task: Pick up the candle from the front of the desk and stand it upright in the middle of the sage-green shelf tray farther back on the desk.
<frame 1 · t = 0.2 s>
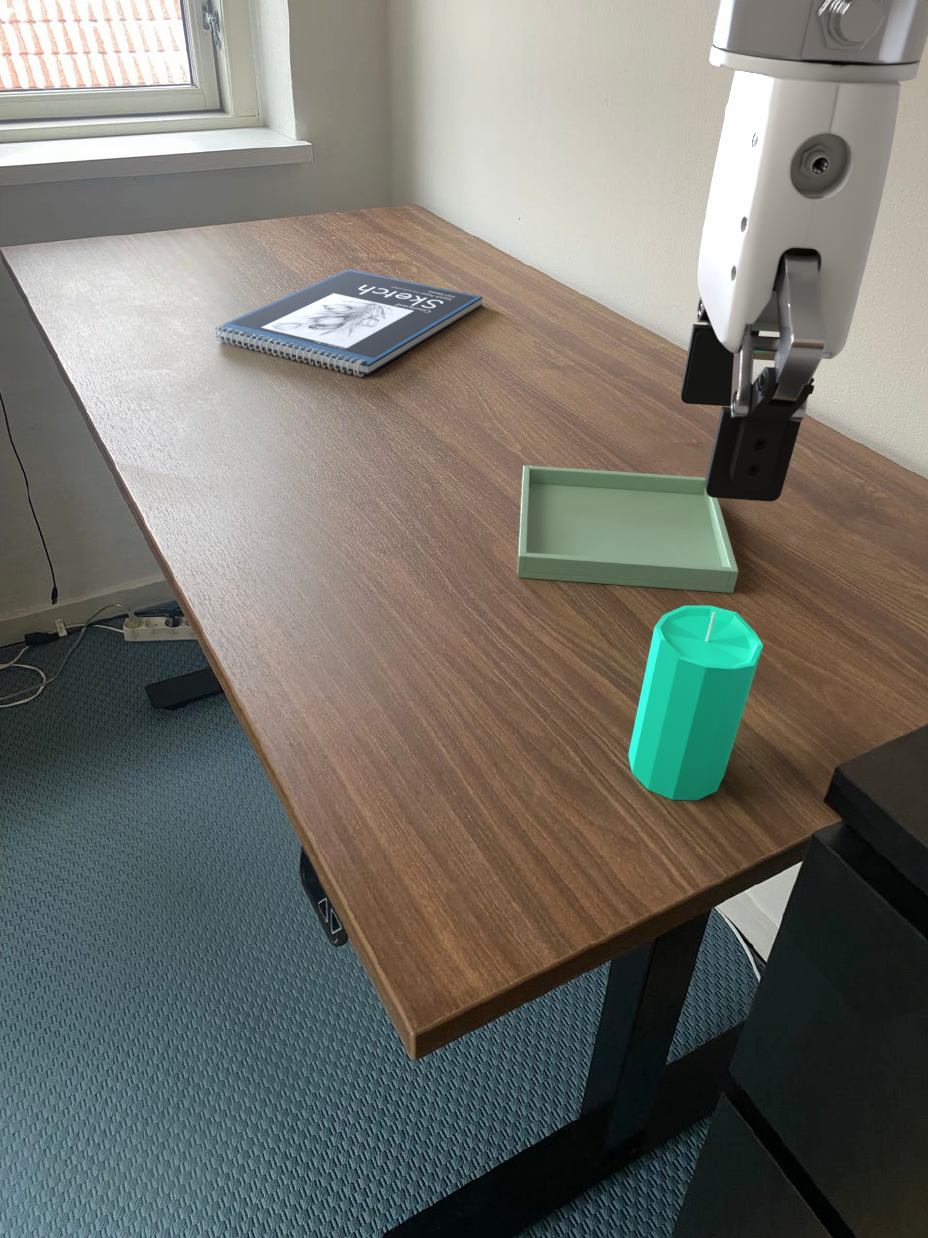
hand: (724, 445, 44), 22 cm above the table, tool pointing down, fingers open, 9 cm apart
shelf tray: (619, 534, 80), on the table
candle: (675, 767, 58), on the table
sketchbook: (354, 323, 118), on the table
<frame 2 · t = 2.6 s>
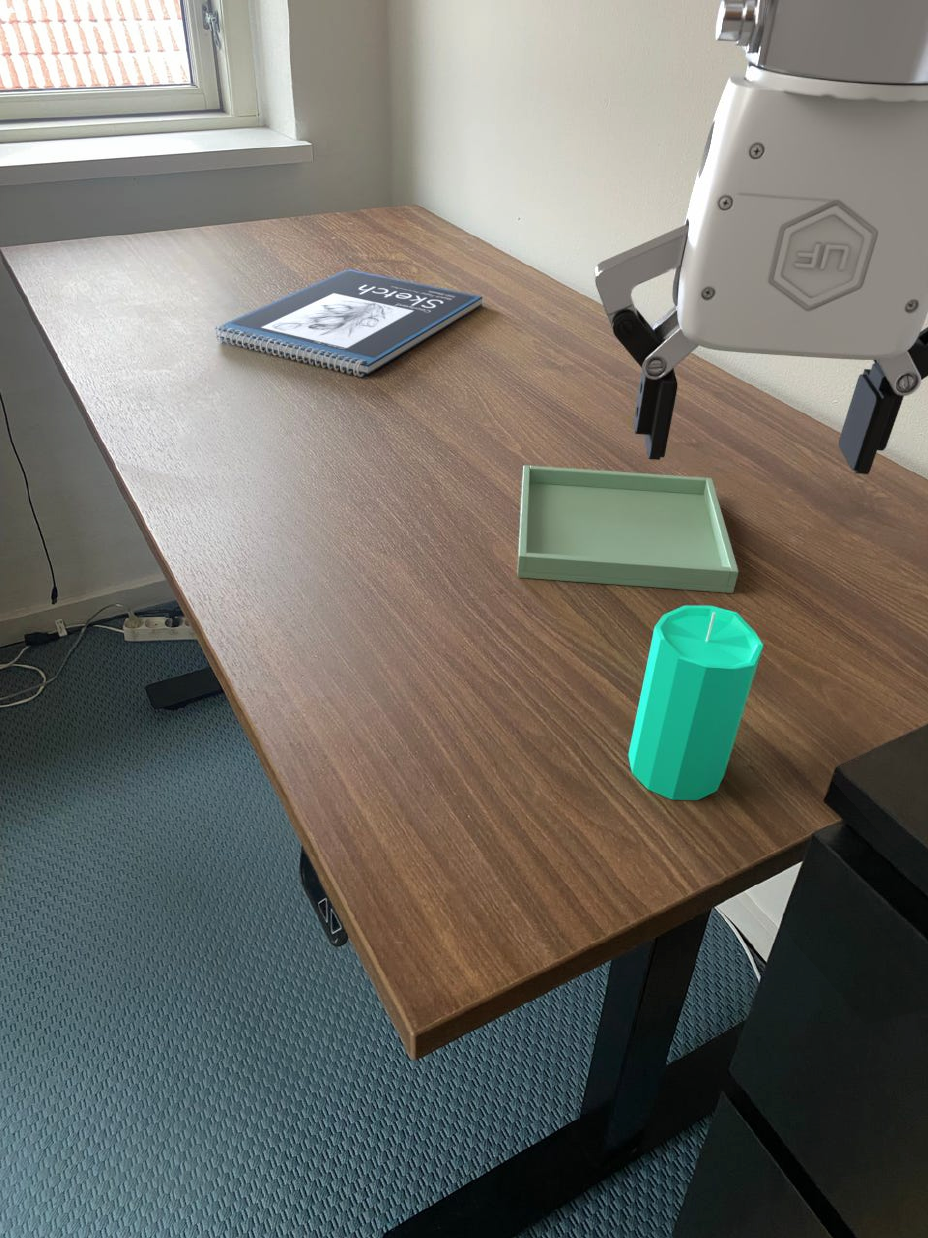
hand: (752, 453, 45), 22 cm above the table, tool pointing down, fingers open, 9 cm apart
nothing on the table moved.
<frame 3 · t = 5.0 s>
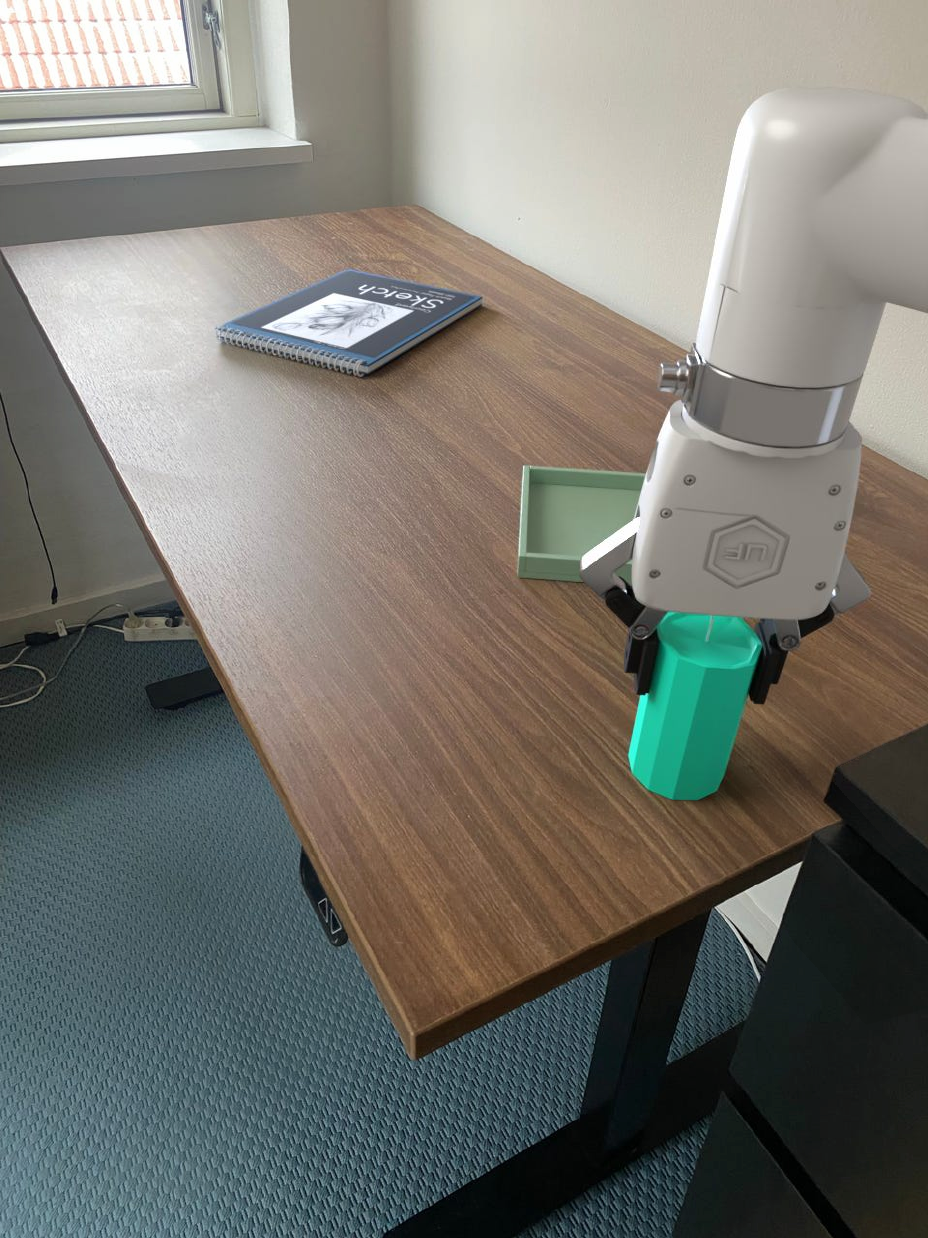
hand: (696, 681, 54), 7 cm above the table, tool pointing down, fingers closed on candle, 5 cm apart
candle: (675, 767, 58), on the table, touching gripper
everything else where it was.
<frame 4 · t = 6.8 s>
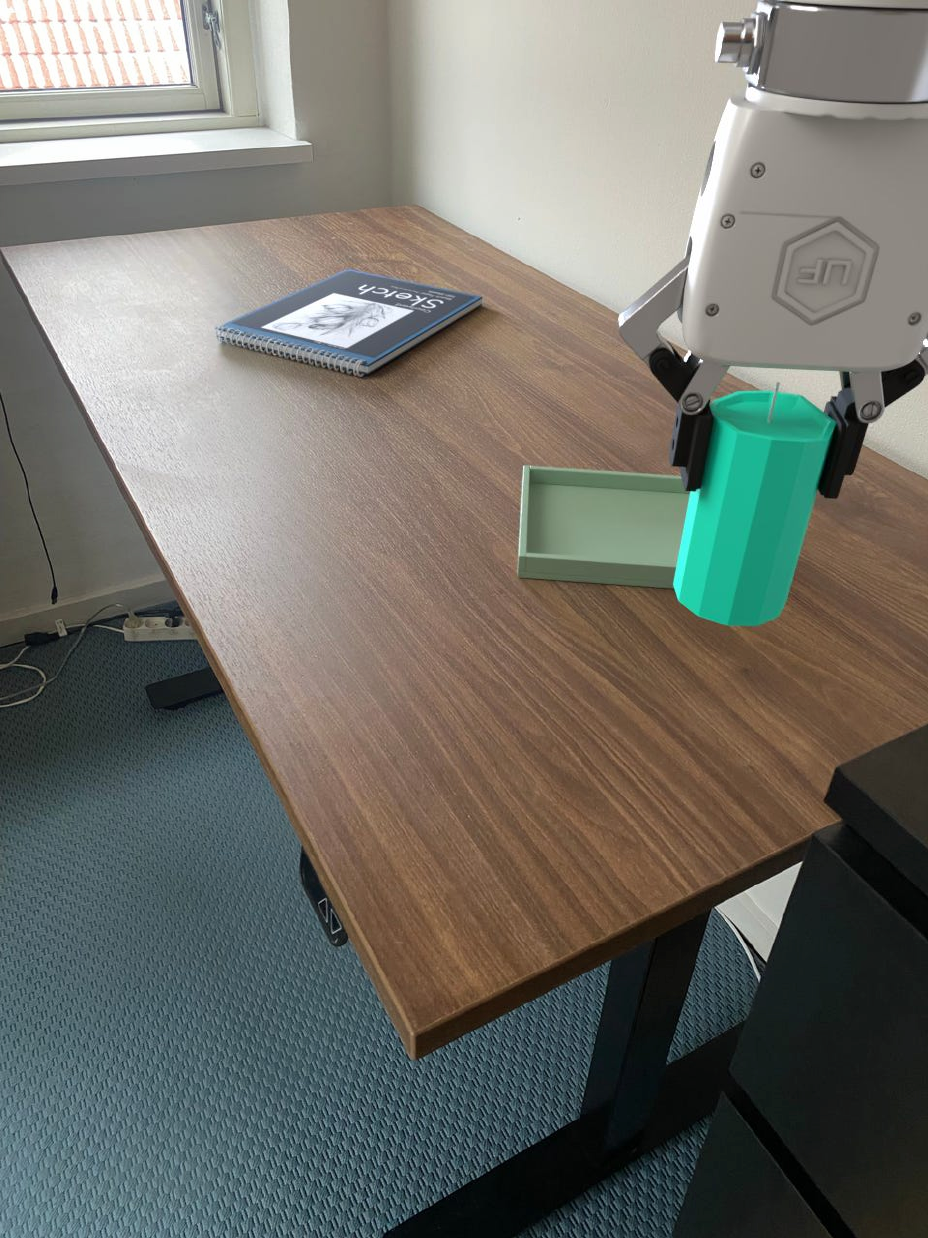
hand: (755, 478, 46), 20 cm above the table, tool pointing down, fingers closed on candle, 5 cm apart
candle: (728, 596, 50), point 13 cm above the table, touching gripper
everything else where it was.
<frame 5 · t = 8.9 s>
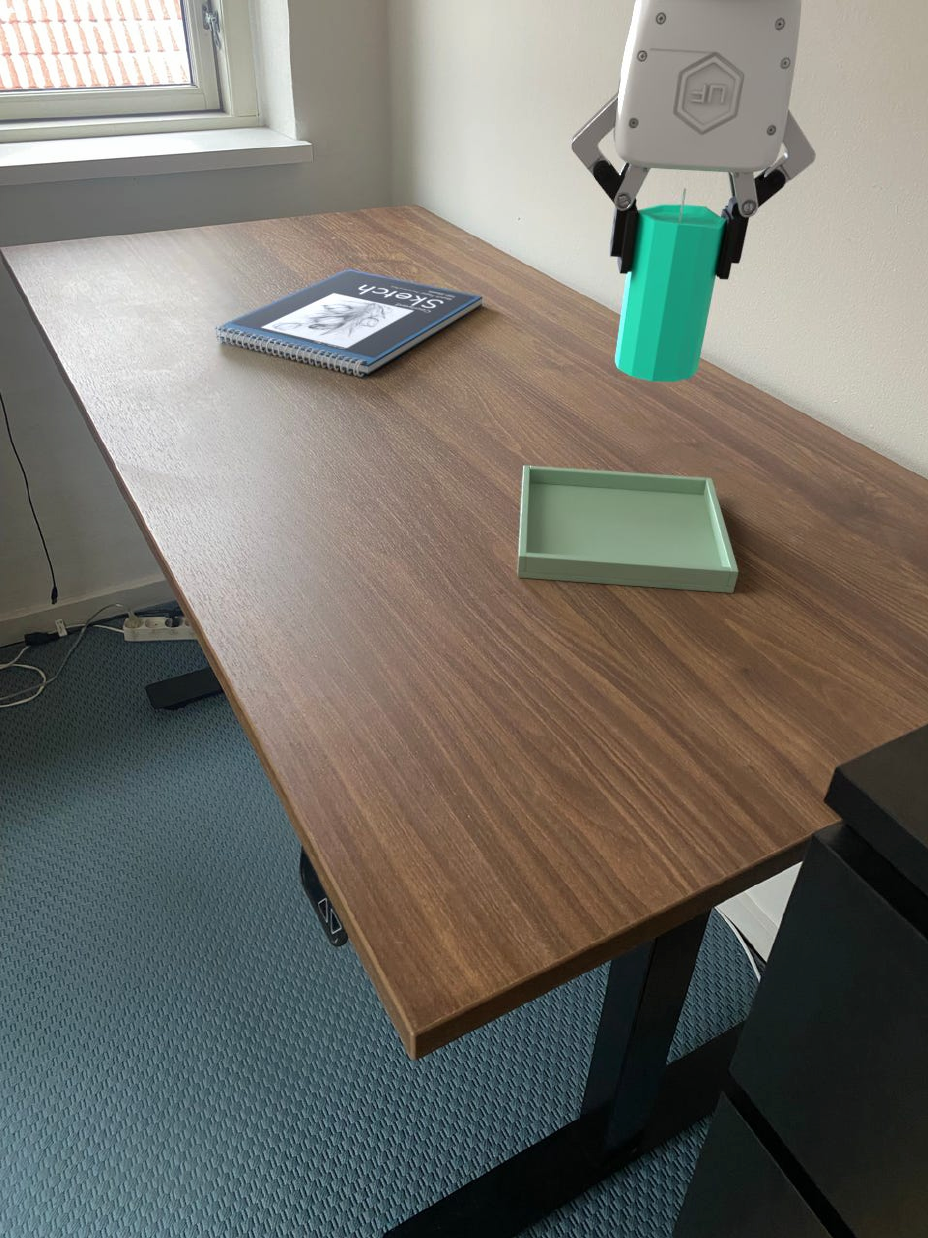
hand: (671, 267, 63), 23 cm above the table, tool pointing down, fingers closed on candle, 5 cm apart
candle: (655, 368, 68), point 16 cm above the table, touching gripper
everything else where it was.
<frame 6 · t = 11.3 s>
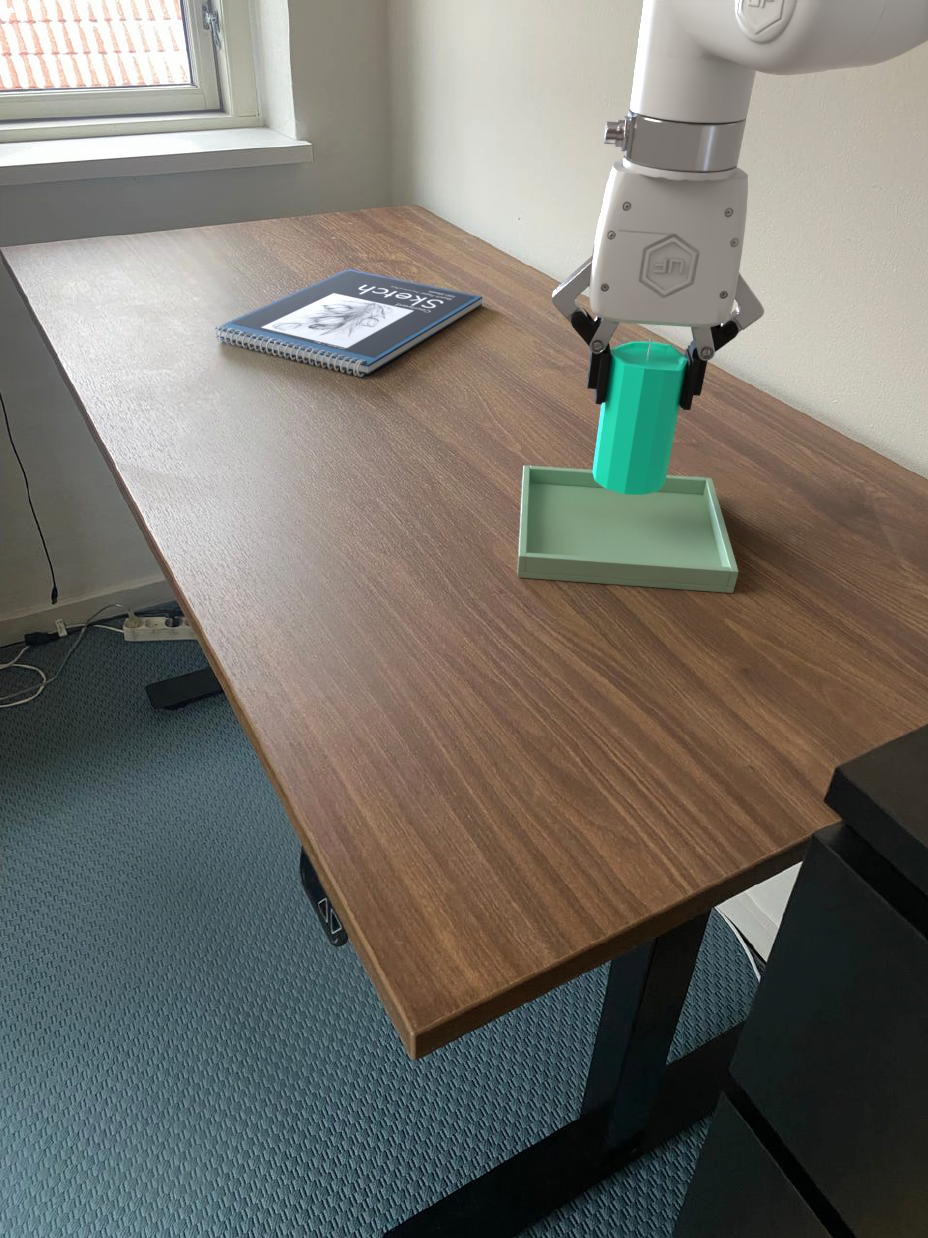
hand: (641, 397, 72), 13 cm above the table, tool pointing down, fingers closed on candle, 5 cm apart
candle: (628, 479, 76), point 5 cm above the table, touching gripper
everything else where it was.
when the fingers open (8 cm above the table, at t = 13.0 s): candle stays where it is, resting on shelf tray.
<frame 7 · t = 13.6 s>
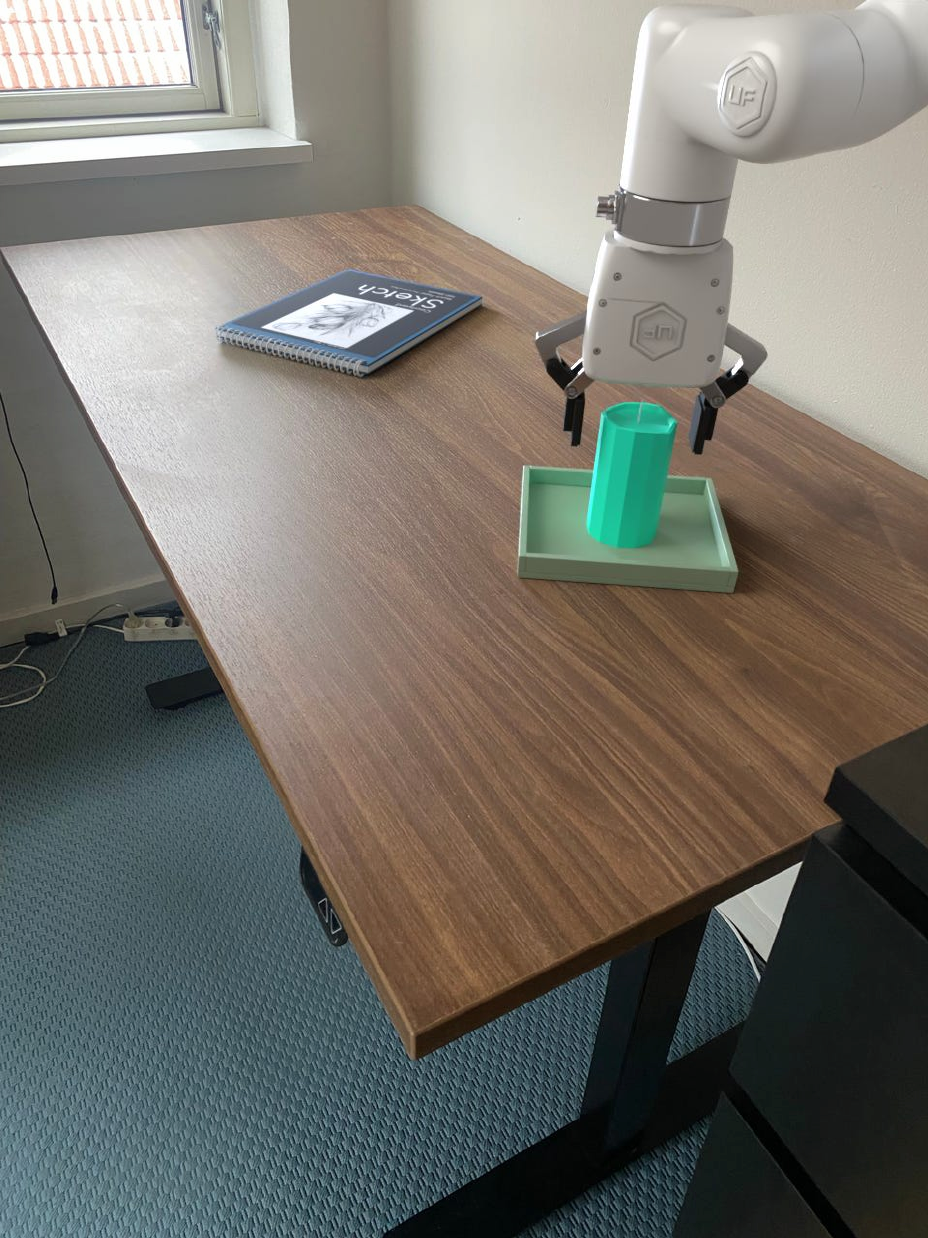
hand: (634, 442, 74), 9 cm above the table, tool pointing down, fingers open, 9 cm apart
candle: (620, 531, 79), resting on shelf tray
everything else where it was.
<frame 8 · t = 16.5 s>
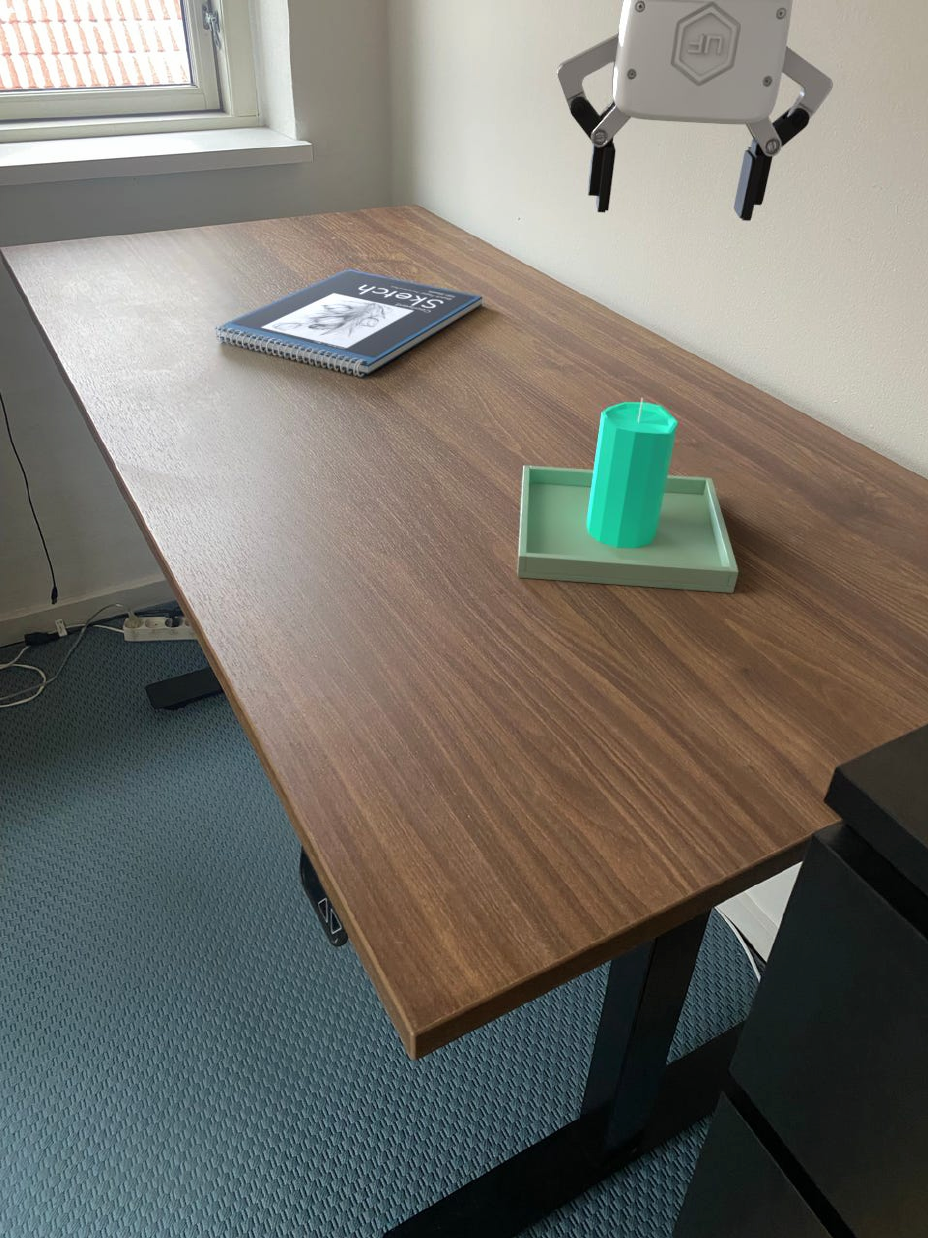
hand: (671, 211, 64), 26 cm above the table, tool pointing down, fingers open, 9 cm apart
nothing on the table moved.
at the end: candle inside the target area in the shelf tray (0.1 cm from its centre), point 0.4 cm above the shelf tray's base; candle tilted 0°; the gripper is holding nothing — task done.
